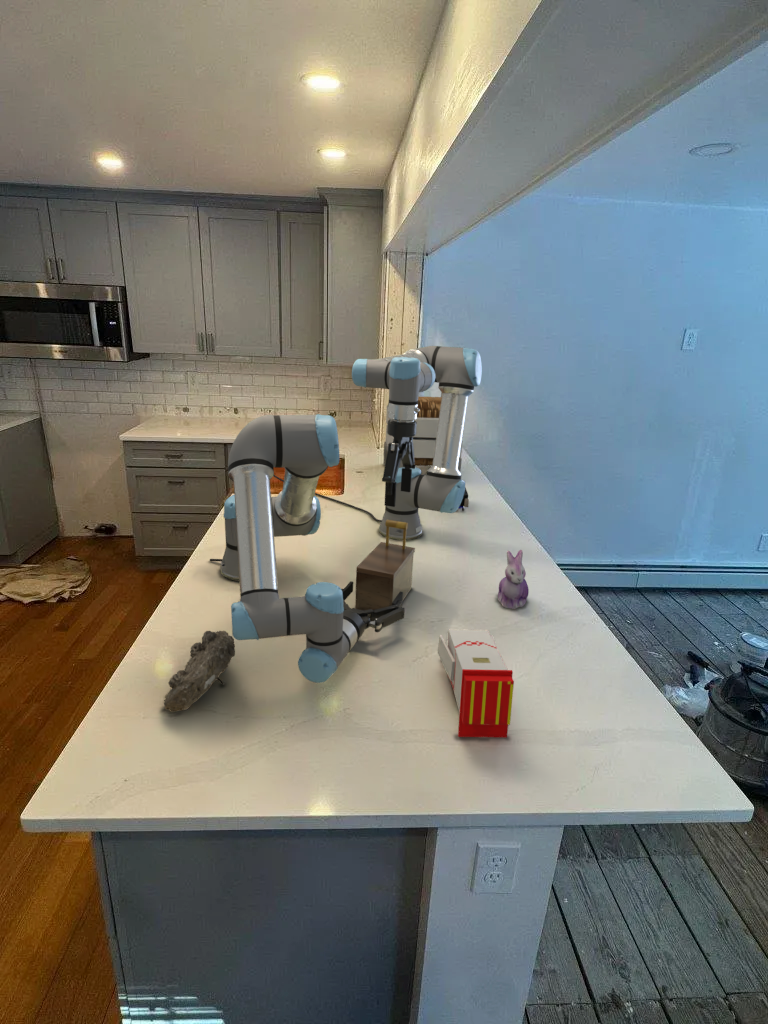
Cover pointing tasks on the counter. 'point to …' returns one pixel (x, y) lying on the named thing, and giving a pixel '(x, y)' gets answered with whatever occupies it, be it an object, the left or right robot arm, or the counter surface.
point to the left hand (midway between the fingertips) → (376, 591)
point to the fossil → (200, 670)
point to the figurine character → (464, 500)
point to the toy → (478, 682)
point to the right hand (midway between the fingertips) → (398, 498)
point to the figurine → (513, 583)
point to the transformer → (423, 432)
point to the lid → (387, 555)
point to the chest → (382, 588)
